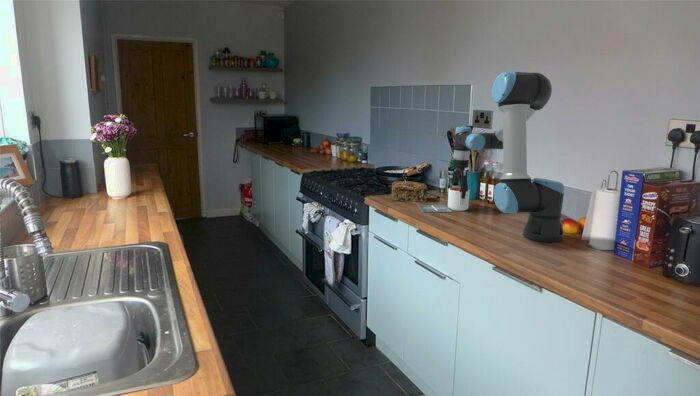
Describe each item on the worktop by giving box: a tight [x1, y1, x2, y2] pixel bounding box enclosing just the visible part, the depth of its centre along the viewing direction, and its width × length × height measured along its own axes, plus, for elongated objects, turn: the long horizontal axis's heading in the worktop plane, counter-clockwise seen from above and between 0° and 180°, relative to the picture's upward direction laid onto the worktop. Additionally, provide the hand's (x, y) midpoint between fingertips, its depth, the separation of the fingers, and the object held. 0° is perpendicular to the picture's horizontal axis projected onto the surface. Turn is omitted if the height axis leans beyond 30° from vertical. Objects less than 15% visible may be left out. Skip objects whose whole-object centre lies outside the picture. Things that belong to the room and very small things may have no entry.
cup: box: [447, 187, 471, 212], centre depth 231 cm, size 10×10×10 cm
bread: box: [391, 180, 428, 203], centre depth 250 cm, size 19×11×10 cm, turn 86°
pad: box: [417, 204, 453, 214], centre depth 231 cm, size 14×14×1 cm
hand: (458, 201), depth 232 cm, fingers open, 13 cm apart
